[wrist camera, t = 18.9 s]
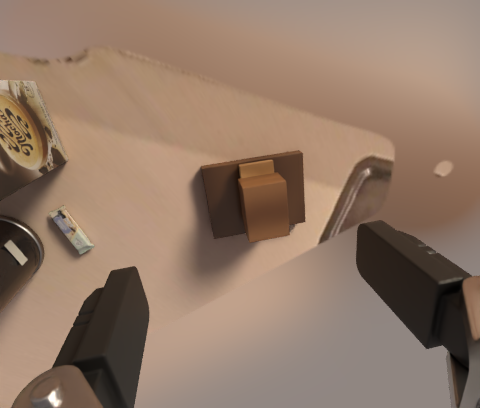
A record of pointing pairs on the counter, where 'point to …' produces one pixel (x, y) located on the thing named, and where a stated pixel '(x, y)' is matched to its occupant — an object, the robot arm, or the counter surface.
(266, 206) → the stepped wooden block
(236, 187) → the board
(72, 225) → the granola bar
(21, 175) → the coffee box
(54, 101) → the counter surface
